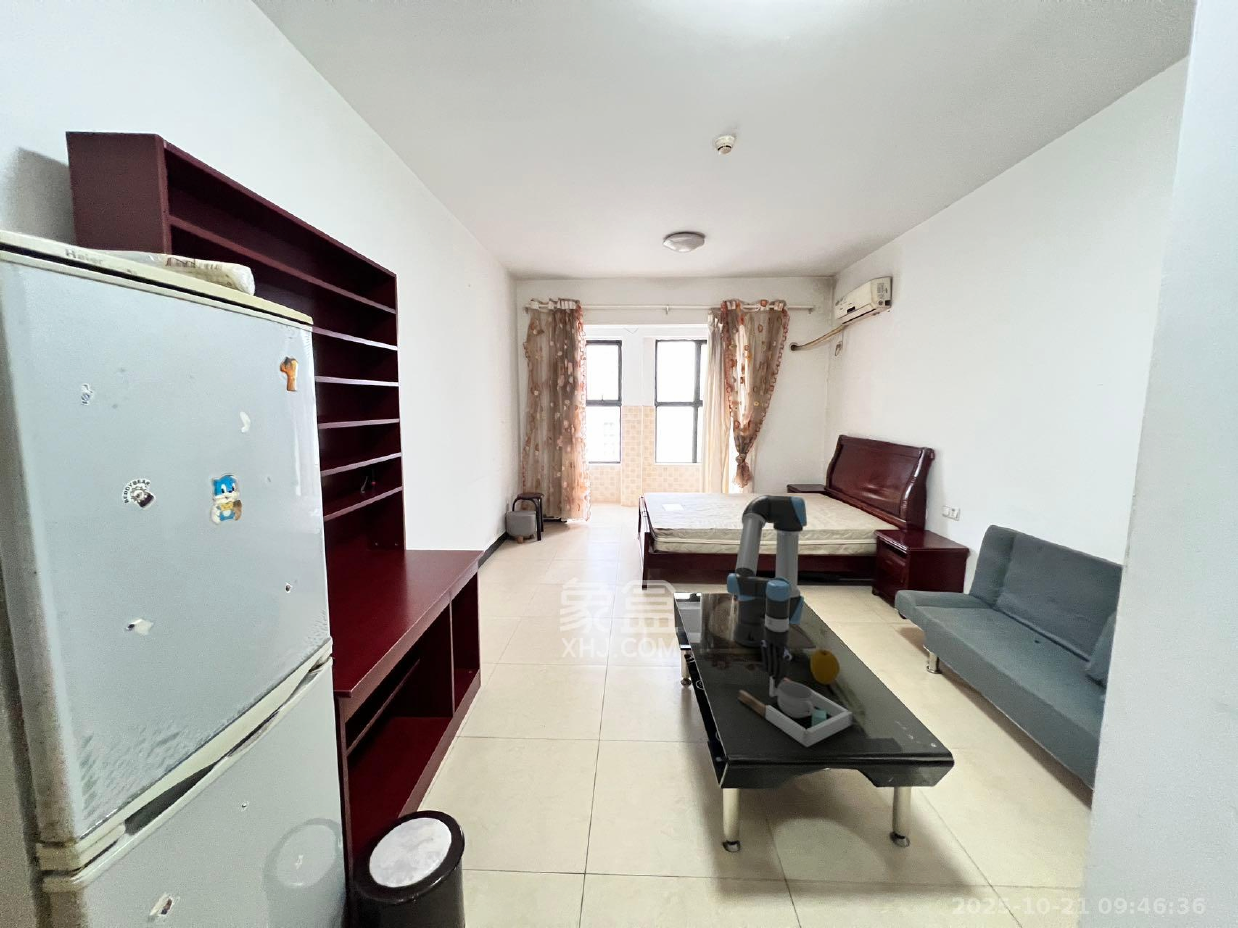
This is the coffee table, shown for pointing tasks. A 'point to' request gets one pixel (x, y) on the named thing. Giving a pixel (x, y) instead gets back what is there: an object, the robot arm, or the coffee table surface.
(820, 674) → the apple
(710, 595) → the coffee table surface
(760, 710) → the slot rails
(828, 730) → the grey u-shaped frame
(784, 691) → the teacup
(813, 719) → the block
